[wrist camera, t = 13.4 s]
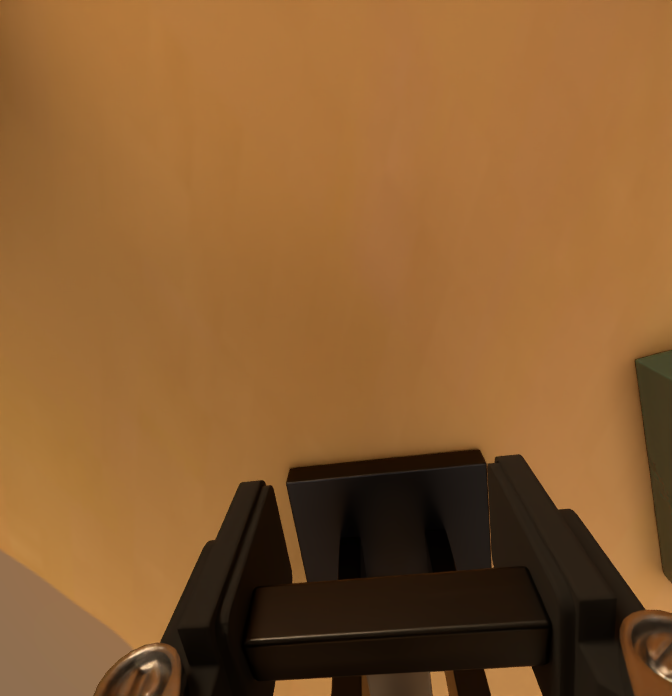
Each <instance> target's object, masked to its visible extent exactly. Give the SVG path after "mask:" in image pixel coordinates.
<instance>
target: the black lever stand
mask: <svg viewBox="0 0 672 696" xmlns="http://www.w3.org/2000/svg"><path fill="white" fill-rule="evenodd" d="M286 486H287V490H288V495H289V499H290V504H291V509H292V513H293V518H294V523H295V527H296V532H297V537H298V541H299V546H300V551H301V555H302V560H303V565H304V569H305V574H306V579H307V582H319V581H332V580H345V579H358V578H371V577H384V576H397V575H410V574H423V573H436V572H449V571H462V570H475V569H488V568H492V566H491V545H490V524H489V503H488V482H487V464H486V462H485V460H484V458H483V456H482V454H481V452H480V450H468V451H458V452H448V453H438V454H429V455H419V456H409V457H399V458H389V459H379V460H369V461H360V462H350V463H340V464H330V465H320V466H310V467H301V468H291V469H290V470H289V474H288V478H287V482H286ZM445 676H446V681H447V686H448V692H449V696H491V693H490V690H489V686H488V682H487V679H486V675H485V671H484V669H472V670H454V671H445ZM331 696H370V692H369V687H368V682H367V677H366V675H365V676H348V677H332V692H331Z"/></svg>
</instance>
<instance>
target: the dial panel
mask: <svg viewBox="0 0 672 696" xmlns="http://www.w3.org/2000/svg"><path fill="white" fill-rule="evenodd" d="M635 363H636V371H637V378H638V386H639V393H640V401H641V408H642V416H643V423H644V431H645V438H646V445H647V453H648V460H649V468H650V475H651V483H652V490H653V498H654V505H655V513H656V520H657V528H658V535H659V543H660V550H661V557H662V565H663V572H664V575H665V576H666V577H667V578H668V580H669V581H670V582H671V583H672V350H669V351H666V352H662V353H658V354H654V355H651V356H647V357H643V358H640V359H636V360H635Z"/></svg>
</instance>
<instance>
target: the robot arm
mask: <svg viewBox="0 0 672 696" xmlns="http://www.w3.org/2000/svg"><path fill="white" fill-rule="evenodd" d="M487 473H488V492H489V512H490V531H491V551H492V560H493V565H494V568H501V567H514V566H525V567H527V568H528V570H529V571H530V574H531V576H532V578H533V581H534V583H535V585H536V588H537V590H538V592H539V595H540V597H541V599H542V602H543V604H544V606H545V609H546V611H547V614H548V616H549V618H550V621H551V639H550V652H549V663H548V664H546V665H542V666H532V669H533V671H534V674H535V677H536V679H537V682H538V685H539V687H540V690H541V692H542V695H543V696H672V613H669V612H665V611H661V610H645V608H644V607H643V605H642V604H641V603H640V601H639V600H638V598H637V597H636V596H635V594H634V593H633V592H632V590H631V589H630V587H629V586H628V585H627V583H626V582H625V580H624V579H623V578H622V576H621V575H620V573H619V572H618V571H617V569H616V568H615V567H614V565H613V564H612V562H611V561H610V560H609V558H608V557H607V555H606V554H605V553H604V551H603V550H602V549H601V547H600V546H599V544H598V543H597V542H596V540H595V539H594V537H593V536H592V535H591V533H590V532H589V530H588V529H587V528H586V526H585V525H584V524H583V522H582V521H581V519H580V518H579V517H578V515H577V514H576V513H575V512H574V511H573V510H571V509H560V510H558V509H557V507H556V506H555V505H554V503H553V502H552V500H551V499H550V497H549V496H548V494H547V493H546V491H545V490H544V488H543V487H542V485H541V484H540V482H539V481H538V479H537V478H536V476H535V475H534V473H533V472H532V470H531V469H530V467H529V466H528V464H527V463H526V461H525V460H524V458H523V457H522V456H521V455H519V454H518V455H508V456H498V457H496V458H495V463H491V464H488V466H487ZM280 584H292V570H291V565H290V561H289V556H288V552H287V547H286V543H285V538H284V534H283V529H282V525H281V520H280V515H279V511H278V506H277V502H276V497H275V493H274V489H273V487H272V486H271V485H270V486H266V484H265V482H264V481H263V480H260V481H250V482H242V483H240V485H239V486H238V489H237V491H236V493H235V496H234V498H233V500H232V503H231V505H230V507H229V510H228V512H227V514H226V516H225V519H224V521H223V523H222V526H221V528H220V530H219V533H218V535H217V537H216V540H211V541H209V542H207V543H206V545H205V546H204V548H203V550H202V552H201V554H200V556H199V559H198V561H197V563H196V565H195V567H194V570H193V572H192V574H191V576H190V578H189V580H188V583H187V585H186V587H185V589H184V591H183V594H182V596H181V598H180V600H179V602H178V604H177V607H176V609H175V611H174V613H173V615H172V618H171V620H170V622H169V624H168V626H167V628H166V631H165V633H164V635H163V637H162V639H161V642H160V643H153V644H147V645H144V646H141V647H139V648H137V649H135V650H133V651H131V652H129V653H128V654H127V655H125V656H124V657H122V658H121V659H119V660H118V661H117V662H116V663H115V664H114V665H113V666H112V667H111V668H110V669H109V670H108V671H107V673H106V674H105V675H104V677H103V678H102V680H101V681H100V682H99V684H98V686H97V688H96V691H95V693H94V695H93V696H273V693H274V687H275V681H257V680H255V678H254V676H253V673H252V671H251V668H250V665H249V663H248V660H247V658H246V655H245V652H244V650H243V647H242V639H243V635H244V630H245V626H246V621H247V617H248V612H249V608H250V603H251V599H252V594H253V590H254V588H255V587H257V586H267V585H280Z"/></svg>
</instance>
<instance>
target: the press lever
mask: <svg viewBox="0 0 672 696" xmlns="http://www.w3.org/2000/svg"><path fill="white" fill-rule="evenodd" d="M550 639H551V621H550V618H549V616H548V614H547V611H546V609H545V606H544V604H543V602H542V599H541V597H540V595H539V592H538V590H537V588H536V585H535V583H534V581H533V578H532V576H531V574H530V571H529V570H528V568H527V567H525V566H514V567H501V568H488V569H475V570H462V571H449V572H436V573H423V574H410V575H397V576H384V577H371V578H358V579H345V580H332V581H319V582H306V583H293V584H280V585H267V586H257V587H255V588H254V590H253V594H252V599H251V603H250V608H249V612H248V617H247V621H246V626H245V630H244V635H243V639H242V647H243V650H244V652H245V655H246V658H247V660H248V663H249V665H250V668H251V671H252V673H253V676H254V678H255V680H257V681H277V680H294V679H312V678H330V677H348V676H365V675H366V677H367V682H368V687H369V692H370V696H433V694H432V685H431V675H430V672H436V671H454V670H472V669H489V668H507V667H525V666H542V665H546V664H548V663H549V652H550Z"/></svg>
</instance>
